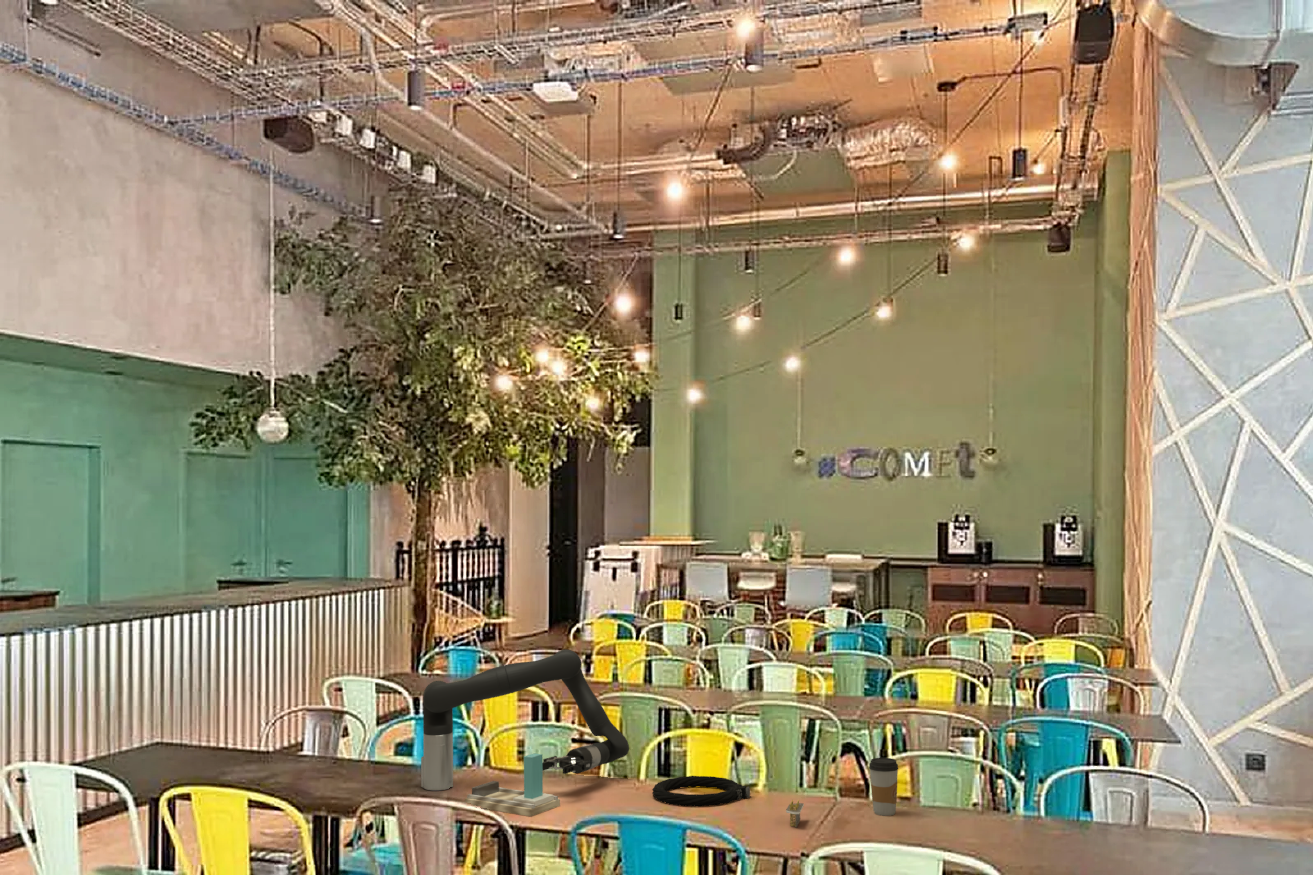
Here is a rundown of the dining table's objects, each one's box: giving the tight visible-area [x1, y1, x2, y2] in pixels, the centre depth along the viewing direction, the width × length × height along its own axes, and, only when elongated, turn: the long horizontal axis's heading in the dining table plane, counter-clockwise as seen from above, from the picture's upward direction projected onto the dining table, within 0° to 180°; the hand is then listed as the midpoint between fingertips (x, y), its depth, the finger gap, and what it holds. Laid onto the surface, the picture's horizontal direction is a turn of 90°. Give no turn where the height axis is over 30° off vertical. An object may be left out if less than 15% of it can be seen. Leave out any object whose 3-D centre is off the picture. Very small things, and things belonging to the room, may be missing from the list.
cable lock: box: [651, 775, 751, 807], centre depth 377 cm, size 28×4×30 cm
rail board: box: [464, 780, 561, 817], centre depth 368 cm, size 25×14×5 cm, turn 58°
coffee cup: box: [868, 757, 899, 817], centre depth 355 cm, size 8×8×15 cm
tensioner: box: [513, 753, 555, 806], centre depth 364 cm, size 8×9×14 cm
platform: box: [785, 799, 805, 829], centre depth 344 cm, size 12×18×7 cm, turn 166°
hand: (552, 768), depth 372 cm, fingers open, 8 cm apart
